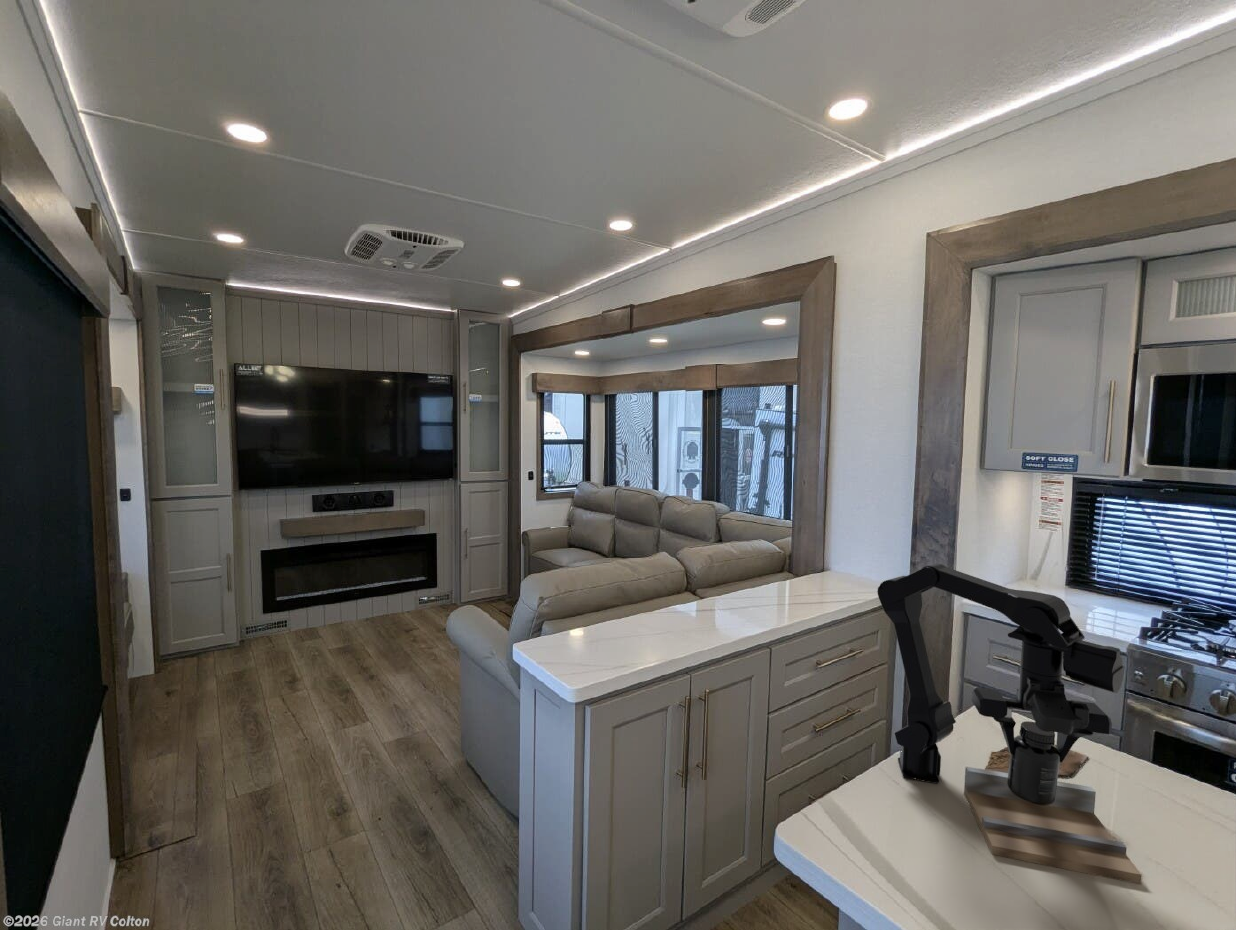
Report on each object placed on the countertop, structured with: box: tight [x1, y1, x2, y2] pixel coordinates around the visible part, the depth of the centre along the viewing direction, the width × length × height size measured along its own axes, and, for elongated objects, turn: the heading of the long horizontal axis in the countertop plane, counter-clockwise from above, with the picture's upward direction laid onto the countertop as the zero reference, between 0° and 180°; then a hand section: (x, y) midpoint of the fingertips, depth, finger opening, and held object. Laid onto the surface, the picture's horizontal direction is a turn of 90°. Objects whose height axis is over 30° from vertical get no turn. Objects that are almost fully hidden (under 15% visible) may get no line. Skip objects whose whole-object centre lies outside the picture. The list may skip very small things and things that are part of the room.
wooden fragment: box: [984, 744, 1089, 777], centre depth 119 cm, size 26×11×1 cm, turn 100°
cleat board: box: [963, 766, 1142, 885], centre depth 98 cm, size 20×16×6 cm
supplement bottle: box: [1007, 720, 1060, 806], centre depth 99 cm, size 7×7×12 cm
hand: (1035, 756), depth 99 cm, fingers closed on supplement bottle, 7 cm apart
